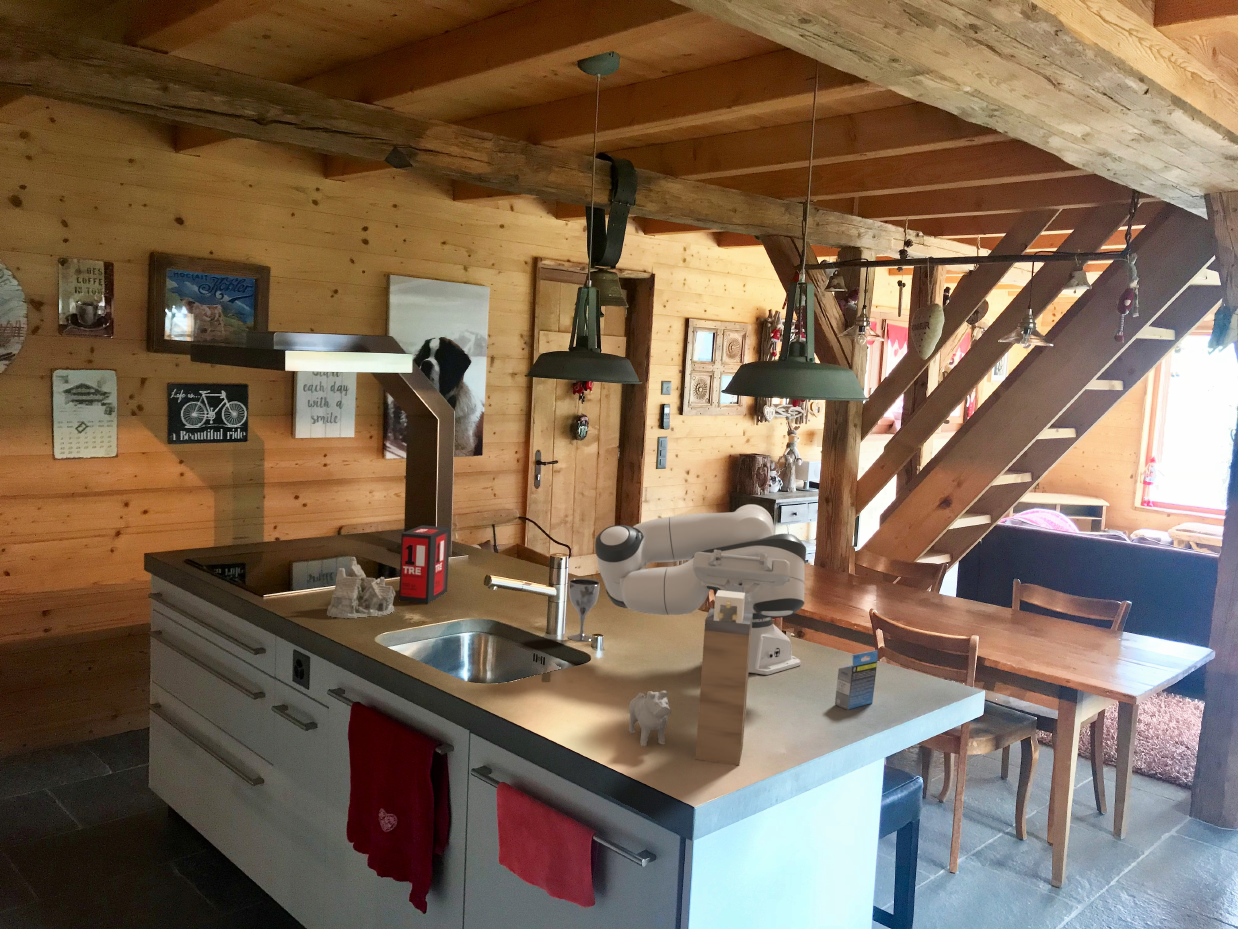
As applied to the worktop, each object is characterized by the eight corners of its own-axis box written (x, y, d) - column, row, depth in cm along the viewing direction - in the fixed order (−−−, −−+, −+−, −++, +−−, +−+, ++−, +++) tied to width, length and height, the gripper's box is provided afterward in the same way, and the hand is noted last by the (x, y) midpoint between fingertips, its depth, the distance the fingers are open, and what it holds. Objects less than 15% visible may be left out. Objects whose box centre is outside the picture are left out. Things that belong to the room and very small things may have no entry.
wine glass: (596, 634, 254) (599, 579, 252) (596, 642, 246) (599, 585, 244) (566, 633, 253) (569, 577, 252) (565, 641, 246) (569, 584, 244)
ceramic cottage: (317, 614, 256) (324, 560, 255) (352, 604, 272) (358, 553, 271) (367, 626, 251) (374, 570, 250) (400, 615, 267) (406, 562, 266)
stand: (700, 741, 182) (710, 608, 180) (742, 747, 181) (752, 612, 178) (695, 759, 173) (705, 619, 171) (739, 765, 172) (750, 624, 170)
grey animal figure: (648, 754, 175) (652, 697, 174) (624, 728, 187) (627, 676, 186) (675, 751, 177) (679, 696, 176) (649, 726, 188) (652, 674, 188)
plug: (722, 599, 188) (724, 576, 188) (747, 601, 187) (749, 579, 187) (712, 622, 169) (714, 597, 169) (740, 625, 168) (742, 600, 168)
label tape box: (859, 698, 214) (863, 645, 213) (874, 704, 211) (878, 649, 210) (834, 705, 208) (838, 650, 207) (848, 710, 205) (853, 655, 204)
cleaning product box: (419, 589, 293) (422, 525, 291) (447, 592, 292) (450, 527, 290) (398, 601, 277) (401, 533, 275) (428, 604, 275) (431, 535, 274)
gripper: (789, 596, 204) (790, 575, 192) (694, 586, 208) (689, 565, 196) (791, 568, 207) (792, 545, 195) (697, 559, 211) (693, 536, 199)
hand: (740, 555), depth 195 cm, fingers open, 8 cm apart
